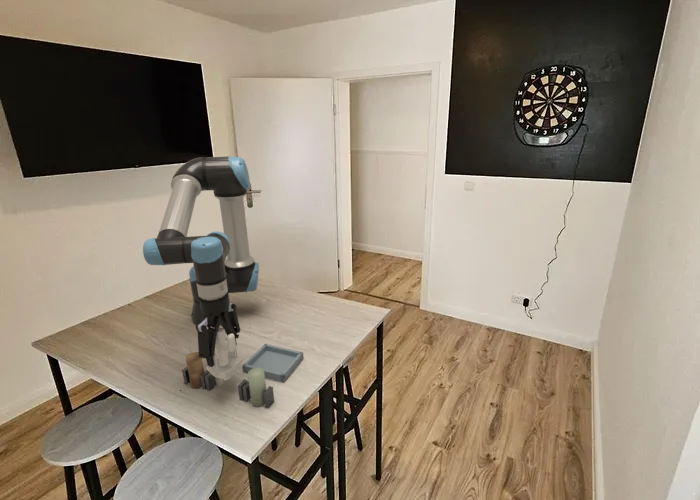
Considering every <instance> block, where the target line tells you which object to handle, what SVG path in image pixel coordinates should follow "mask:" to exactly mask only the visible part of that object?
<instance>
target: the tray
mask: <svg viewBox="0 0 700 500" xmlns="http://www.w3.org/2000/svg"><path fill="white" fill-rule="evenodd" d="M303 360H304V352H303V351H299V350H295V349H290V348H287V347H286V348H285V347H282V346H279V345H278V346H277V345H272V344H268V343H264V344H263V345H262V346H261V347H260V348H259V349H258V350H257V351H256V352H255V353H254V354H252V355H251V356H250V357H249V358H248V360H247V361H245V362H244V363H243V364H242V372H243V373H246V374H248V372H249V371H250V370H251V369H253V368H262V369H263V370H264V376H265V379H267V380H272V381H277V382H279V383H280V382H281V383H285V382H286V381H287V380H288V378H289V377H290V376H291V375H292V373H293V372H294V371H295V370H296V369H297V367H298V366H299V365H300V364H301V362H302V361H303Z"/></svg>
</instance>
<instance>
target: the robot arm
mask: <svg viewBox="0 0 700 500" xmlns="http://www.w3.org/2000/svg"><path fill="white" fill-rule="evenodd" d="M170 187H171V193H170V196H169V200H168V201H167V206H166V208H165V212H164V216H163V219H162V222H161V224H160V227H159V231H158V234H157V237H156V238H155V237H152V238H148V239H146V240H144V243H143V247H142V253H143V258H144V260H145V262H146V264H147V265H150V266H169V265H179V264H180V265H182V264H193V266H191V268H190V269H189V270H188V271H189V272H188V274H189V278H188V279H189V283H190V289H191V293H192V300H193V305H192V311H191V314H190V315H191V322H192V323H193V324H195V329H196V332H197V343H198V344H197V345H198V352H199V357H201V358H202V359H205V361H206V365H207V366H209V370H210V374H213V375H217V376H218V375H219V374H220V373H219V367H218V360H217V358H218V355H217V353H214V351H215V349H216V348H215V344H216V336H217V332H218V331H219V328H220V326H221V328H224V329H225V335H226V337H225V338H226V340H227V336H228V335H229V334H234V336H235V344H236V346H237V339H239V338H240V337H239V336H240V334H239V333H241V328H240V322H239V318H238V314H237V312H236V311H237V309H236V308H237V305H236V303H232V302H230V295H229V294H238V293H248V292H255V291H257V289H258V284H259V270H260V269H259V268H260V266H259V265H260V264H259V263H258V262H255V258H254V257H253V256H252V255H250V244H249V237H248V228H247V218H246V211H245V209H246V208H245V201H244V198H245V196H247V194H248V191H247V190H249V189H250V188H251V182H250V174H249V171H248V166H247V164H246V160H244V159H243V158H242V157H239V156H230V155H229V156H209V157H207V156H206V157H204V156H202V157H196V158H193V159H190V160H188V161H186V162H185V163H184V164H182V165H181V166H180V167H179V168H178V169H177V170H176V172H175V173H174V174H173V176H172V179H171V182H170ZM203 191H213V196H214V197H215V198H216V199H218V201H219V209H220V215H221V223H222V229H223V232H222V231H212V232H210V233H208V234H207V235H195V236H192V235H191V236H188V233H189V228H190V226H191V225H190V224H191V221H192V216H193V213H194V208H195V203H196V201H197V197H198V196H199V195H200V194H201V192H203ZM215 352H216V351H215ZM227 352H228V351H227ZM228 356H232V357H235V358H238V351H237V347H236V348H235V350H234V351H233V352H228ZM207 366H206V367H207Z"/></svg>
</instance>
